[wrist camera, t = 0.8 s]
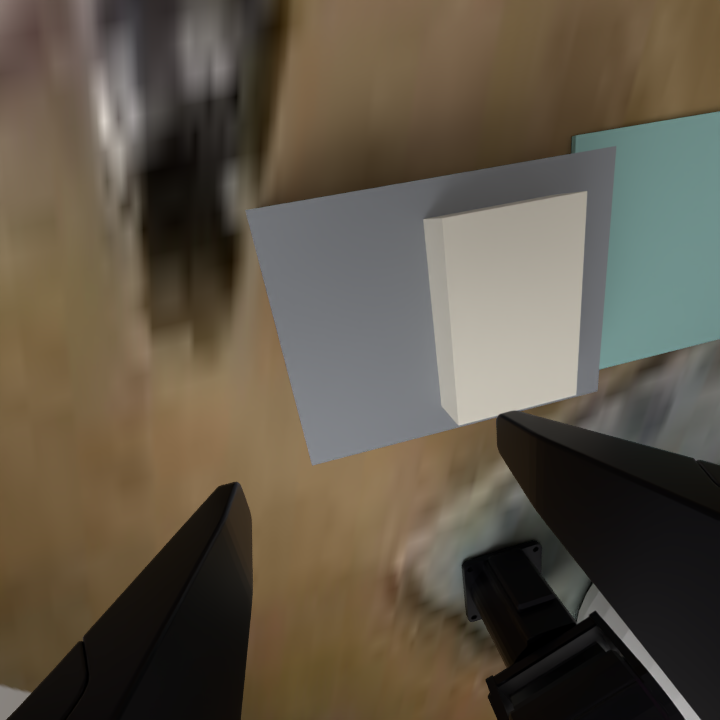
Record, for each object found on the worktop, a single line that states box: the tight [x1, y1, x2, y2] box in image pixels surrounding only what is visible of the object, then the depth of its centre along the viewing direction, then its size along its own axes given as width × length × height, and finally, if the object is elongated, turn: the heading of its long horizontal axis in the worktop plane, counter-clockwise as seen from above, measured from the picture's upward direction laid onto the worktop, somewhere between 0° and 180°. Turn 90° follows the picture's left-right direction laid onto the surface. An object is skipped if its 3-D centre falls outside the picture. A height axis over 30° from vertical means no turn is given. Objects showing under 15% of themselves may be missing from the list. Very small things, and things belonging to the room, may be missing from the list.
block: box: [423, 191, 587, 426], centre depth 17 cm, size 9×6×2 cm, turn 10°
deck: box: [245, 146, 616, 465], centre depth 19 cm, size 12×16×4 cm
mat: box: [571, 111, 720, 369], centre depth 23 cm, size 14×15×1 cm
